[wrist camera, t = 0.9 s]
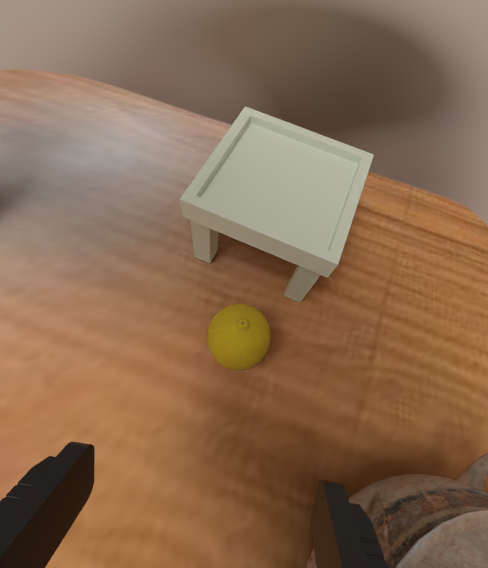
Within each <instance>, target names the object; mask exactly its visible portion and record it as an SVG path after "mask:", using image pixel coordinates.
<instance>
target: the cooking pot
mask: <svg viewBox="0 0 488 568" xmlns="http://www.w3.org/2000/svg"><path fill="white" fill-rule="evenodd" d="M487 476H488V453H487V454H485V455H483V456H481V457H480V458H478V459H477V460H475V461H474V462H473V463H472V464H471V465H470V466H469V467H468V468H467V469H466V470H465V471H464V472H463V473H462V474H461V475H460V476H459V477H458V478H457V479H456V480H453V479H450V478H447V477H442V476H434V475H425V474H408V475H399V476H392V477H389V478H386V479H383V480H380V481H377V482H375V483H372V484H370V485H368V486H366V487H365V488H363V489H362V490H360V491H359V492H357V493H356V494H354V495H352V496H351V497H350V498H349V499H348V500H349V503H354V504H359V505H360V506H361V507H362V509H363V510H364V511H365V513H366V514H367V516H368V517H369V518H370V520H371V521H372V524H373V527H374V529H375V532H376V535H377V538H378V543H379V544H380V546H381V549H382V552H383V554H384V560H385V561H386V563H387V565H388V568H488V493H487V492H485V491H484V482H485V479H486V477H487ZM306 568H317V566H316V560H315V553H314V548H313V550H312V552H311V554H310V557H309V559H308V561H307V565H306Z"/></svg>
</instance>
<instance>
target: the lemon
mask: <svg viewBox="0 0 488 568" xmlns="http://www.w3.org/2000/svg"><path fill="white" fill-rule="evenodd" d="M270 340H271V337H270V328H269V325H268V322H267V320H266V318H265V317H264V315H263V314H262V313H261V312H260V311H259V310H257V309H256V308H254V307H253V306H250V305H247V304H233V305H230V306H227V307H225V308H223V309H222V310H221V311H219V312H218V313H217V314H216V315H215V317H214V318H213V319H212V321H211V323H210V326H209V328H208V334H207V342H208V347H209V350H210V353H211V354H212V356H213V357H214V359H215V360H216V361H217V362H218V363H219V364H220V365H222V366H224V367H226V368H228V369H232V370H245V369H248V368H251V367H253V366H254V365H256V364H257V363H259V362H260V361H261V360H262V358H263V357H264V356H265V354H266V352H267V350H268V348H269V344H270Z"/></svg>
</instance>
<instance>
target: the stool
mask: <svg viewBox="0 0 488 568" xmlns="http://www.w3.org/2000/svg"><path fill="white" fill-rule="evenodd" d="M372 158H373V154H370V153H368V152H365V151H363V150H360V149H357V148H354V147H352V146H349V145H347V144H344V143H340V142H339V141H336V140H333V139H331V138H328V137H325V136H322V135H320V134H317V133H314V132H312V131H309V130H307V129H304V128H301V127H299V126H296V125H293V124H291V123H288V122H285V121H283V120H280V119H277V118H275V117H272V116H269V115H267V114H264V113H261V112H259V111H256V110H253V109H250V108H248V107H245V108H244V109H243V110H242V112H241V113H240V115H239V116H238V118H237V119H236V120H235V122H234V123H233V125H232V126H231V127H230V129H229V130H228V132H227V133H226V134H225V136H224V137H223V139H222V140H221V141H220V143H219V144H218V146H217V147H216V148H215V150H214V151H213V153H212V154H211V155H210V157H209V158H208V160H207V161H206V162H205V164H204V165H203V167H202V168H201V169H200V171H199V172H198V174H197V175H196V177H195V178H194V179H193V181H192V182H191V184H190V185H189V186H188V188H187V189H186V191H185V192H184V193H183V195H182V196H181V198H180V199H179V200H180V207H181V214H182V217H184V218H186V219H189V220H190V223H191V233H192V242H193V251H194V257H195V258H198V259H200V260H202V261H205V262H207V263H209V264H210V263H211V261H212V259H213V258H214V256H215V254H216V252H217V251H218V232H220V233H222V234H224V235H227V236H229V237H231V238H234V239H236V240H239V241H241V242H243V243H246V244H248V245H250V246H253V247H255V248H258V249H260V250H262V251H265V252H267V253H270V254H272V255H274V256H277V257H279V258H281V259H284V260H286V261H289V262H291V263H293V264H296V265H298V266H297V268H296V270H295V271H294V273H293V275H292V277H291V279H290V281H289V283H288V285H287V288H286V290H285V293H284V295H283V296H286V297H288V298H290V299H293V300H295V301H297V302H301V301H302V300H303V298H304V297H305V296H306V294H307V293H308V292H309V290H310V289H311V288H312V286H313V285H314V283H315V282H316V281H317V279H318V278H319V277H320V275H322V276H324V277H327V278H328V277H329V276H330V274H331V273H332V272H333V271H334V269H335V268H336V267H337V266H338V264H339V260H340V257H341V254H342V251H343V248H344V245H345V242H346V239H347V236H348V233H349V230H350V226H351V223H352V220H353V217H354V214H355V211H356V208H357V205H358V202H359V199H360V196H361V193H362V189H363V186H364V183H365V180H366V177H367V174H368V171H369V168H370V165H371V162H372Z"/></svg>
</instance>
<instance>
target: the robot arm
mask: <svg viewBox="0 0 488 568" xmlns="http://www.w3.org/2000/svg"><path fill="white" fill-rule="evenodd" d="M93 484H94V446H93V445H91V444H84V443H78V442H70V443H68V444H67V445H66V446H65V447H64V449H63V450H62V451H61V452H60V453H59V454H58V455H57V456H56V457H52V456H49V457H47V458H46V459H44V460H43V461H41V462H40V463H38V464H37V465H35V466H34V467H32V468H31V469H30V470H29V471H28V472H27V474H26V475H25V476H24V477H23V478H22V479H21V480H20V481H19V482H18V484H17V486H16V485H15V486H14V487H13V488H12V489H11V491H10V492H9V493H8V494H7V495H6V497H5V498H3V499H2V500H1V501H0V568H45V567H46V565H47V563H48V562H49V560H50V559H51V557H52V556H53V554H54V552H55V551H56V549H57V548H58V546H59V545H60V543H61V541H62V540H63V538H64V537H65V535H66V533H67V532H68V530H69V529H70V527H71V526H72V524H73V522H74V521H75V519H76V518H77V516H78V514H79V513H80V511H81V510H82V508H83V507H84V505H85V503H86V502H87V500H88V498H89V496H90V494H91V491H92V488H93ZM311 531H312V540H313V547H314V553H315V560H316V566H317V568H388V565H387V563H386V561H385V560H384V554H383V552H382V549H381V546H380V544H379V543H378V538H377V535H376V532H375V529H374V527H373V524H372V521H371V520H370V518H369V517H368V516H367V514H366V513H365V511H364V510H363V509H362V507H361V506H360V505H359V504H354V503H349V500H348V497H347V494H346V490H345V487H344V485H343V484H342V483H338V482H332V481H325V480H320V481H319V483H318V488H317V492H316V497H315V502H314V507H313V512H312V520H311Z"/></svg>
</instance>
